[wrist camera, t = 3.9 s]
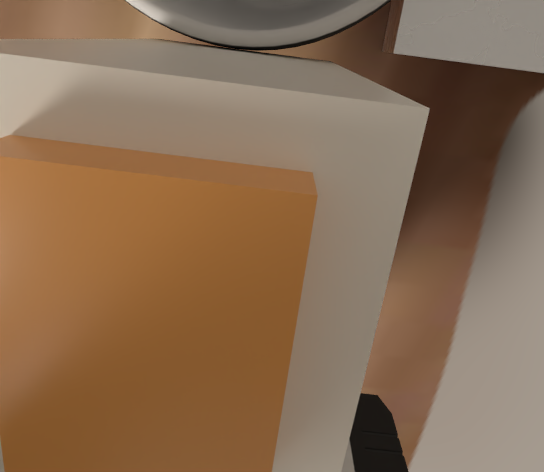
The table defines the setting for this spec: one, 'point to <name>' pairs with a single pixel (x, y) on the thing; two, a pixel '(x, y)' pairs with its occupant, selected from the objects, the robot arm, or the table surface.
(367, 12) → the mug
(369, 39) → the table surface
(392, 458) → the robot arm
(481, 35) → the rail
